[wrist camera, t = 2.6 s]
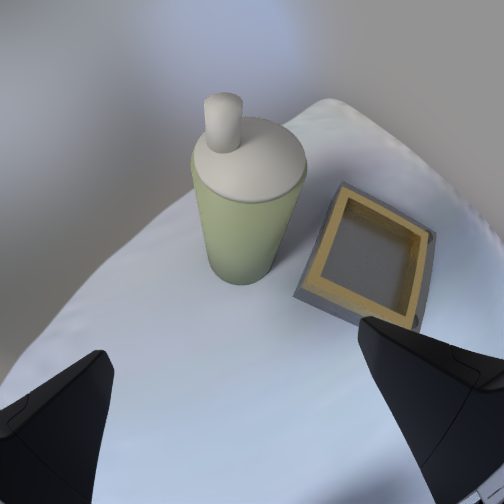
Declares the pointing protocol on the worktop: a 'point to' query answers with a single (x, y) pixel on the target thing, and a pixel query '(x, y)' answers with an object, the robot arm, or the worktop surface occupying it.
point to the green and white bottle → (244, 188)
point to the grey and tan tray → (369, 262)
